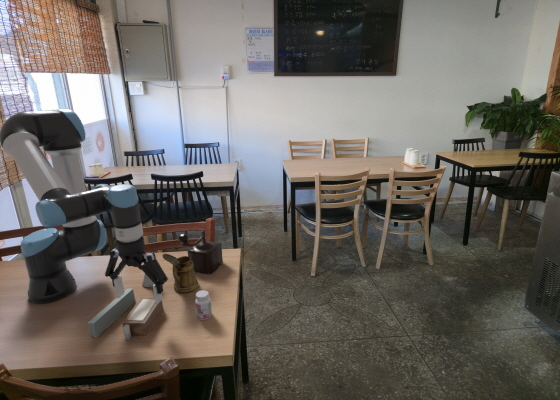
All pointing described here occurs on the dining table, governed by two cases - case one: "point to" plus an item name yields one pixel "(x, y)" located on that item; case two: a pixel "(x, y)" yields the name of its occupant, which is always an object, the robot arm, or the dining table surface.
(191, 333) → the dining table surface
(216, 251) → the dark brown coffee grinder
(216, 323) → the dining table surface
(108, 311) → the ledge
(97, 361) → the dining table surface
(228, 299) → the dining table surface
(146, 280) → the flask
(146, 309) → the frame
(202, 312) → the pill bottle
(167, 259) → the wooden mug
